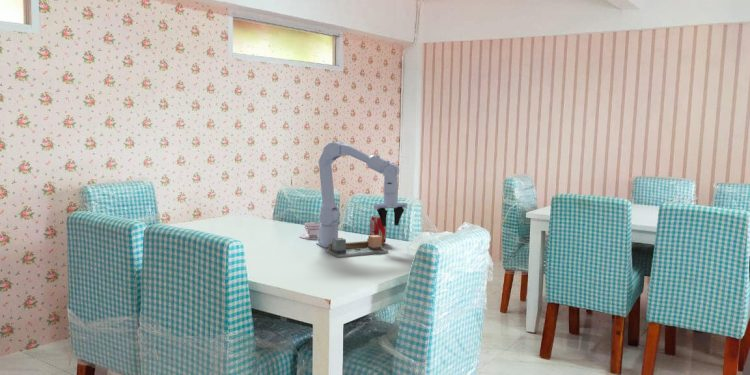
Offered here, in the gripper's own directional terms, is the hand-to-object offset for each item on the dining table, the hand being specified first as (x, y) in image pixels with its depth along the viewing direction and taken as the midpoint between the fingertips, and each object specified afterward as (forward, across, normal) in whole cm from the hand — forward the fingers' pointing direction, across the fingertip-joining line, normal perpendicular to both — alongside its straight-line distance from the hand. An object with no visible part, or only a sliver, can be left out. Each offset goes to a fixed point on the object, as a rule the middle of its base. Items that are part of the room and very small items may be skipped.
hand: (390, 225), depth 264 cm
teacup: (+10, -19, +38) cm, 44 cm away
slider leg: (+9, -7, +1) cm, 11 cm away
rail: (+10, -15, +5) cm, 19 cm away
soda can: (+10, +1, +13) cm, 16 cm away
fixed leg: (+9, -23, +1) cm, 25 cm away
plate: (+10, -15, 0) cm, 18 cm away
